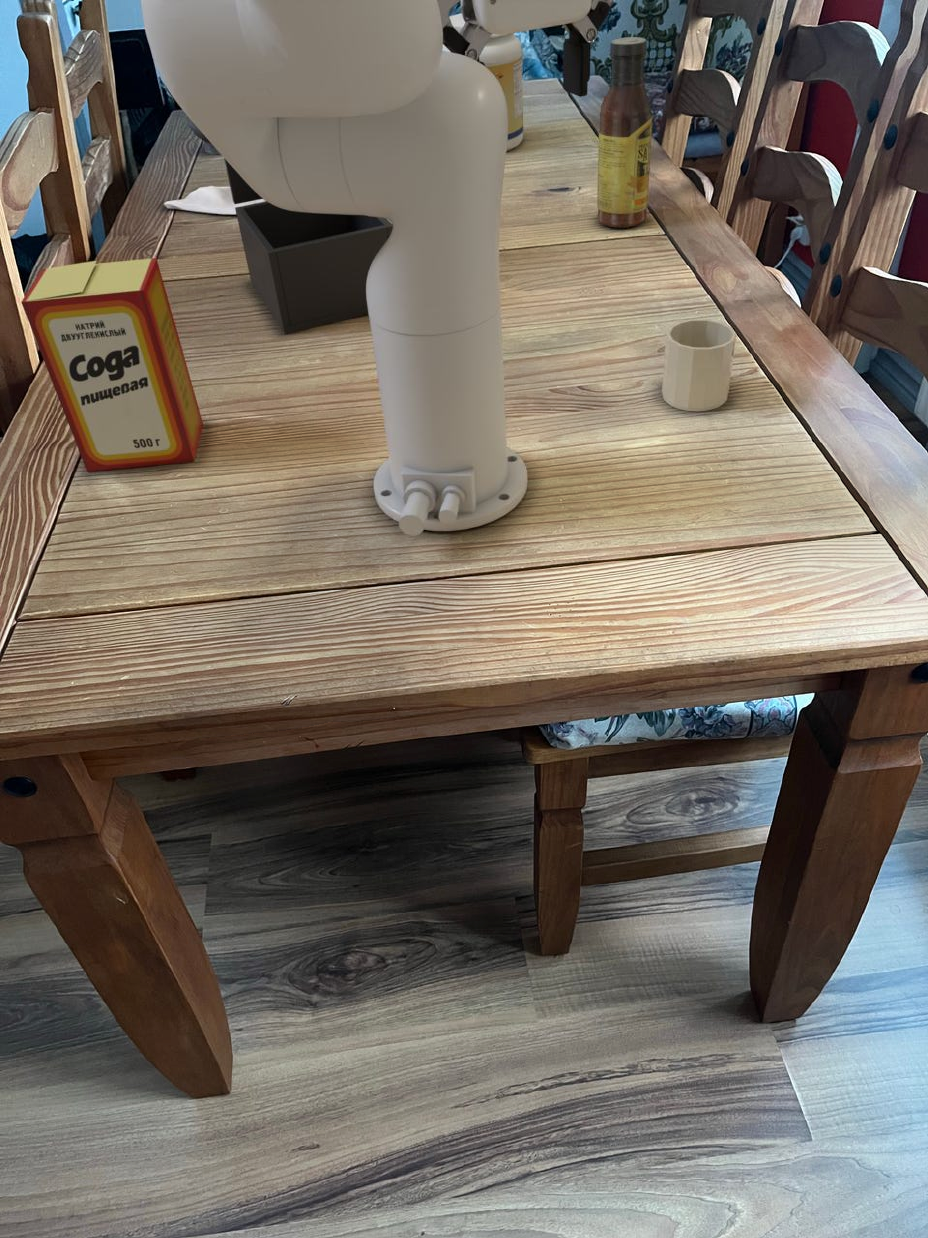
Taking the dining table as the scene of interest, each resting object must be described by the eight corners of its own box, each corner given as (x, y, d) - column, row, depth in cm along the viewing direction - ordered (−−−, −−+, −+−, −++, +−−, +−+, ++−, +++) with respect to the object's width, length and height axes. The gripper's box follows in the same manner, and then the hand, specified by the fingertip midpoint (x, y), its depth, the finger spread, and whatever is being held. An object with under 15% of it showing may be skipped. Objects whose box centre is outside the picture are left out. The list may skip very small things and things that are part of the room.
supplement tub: (435, 156, 146) (424, 27, 135) (458, 132, 155) (450, 8, 143) (513, 157, 143) (509, 26, 132) (532, 133, 151) (530, 7, 140)
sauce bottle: (645, 230, 118) (655, 46, 105) (594, 230, 119) (598, 47, 106) (648, 211, 123) (658, 32, 110) (599, 211, 124) (603, 34, 111)
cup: (729, 412, 85) (738, 349, 81) (661, 410, 86) (666, 348, 82) (726, 380, 89) (734, 318, 85) (661, 379, 90) (666, 318, 86)
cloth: (152, 223, 132) (147, 206, 131) (174, 190, 142) (169, 173, 141) (340, 210, 131) (338, 192, 130) (348, 177, 141) (346, 160, 140)
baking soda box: (203, 423, 90) (155, 253, 79) (194, 461, 85) (141, 285, 75) (101, 433, 90) (40, 264, 79) (87, 471, 85) (19, 297, 74)
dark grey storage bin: (403, 306, 107) (394, 225, 101) (284, 334, 103) (268, 252, 97) (359, 259, 118) (349, 183, 112) (251, 283, 114) (234, 207, 108)
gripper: (435, -137, 67) (453, 130, 78) (647, -160, 72) (635, 94, 83) (396, -139, 72) (417, 111, 84) (596, -161, 77) (591, 78, 88)
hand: (526, 102), depth 83 cm, fingers open, 9 cm apart
